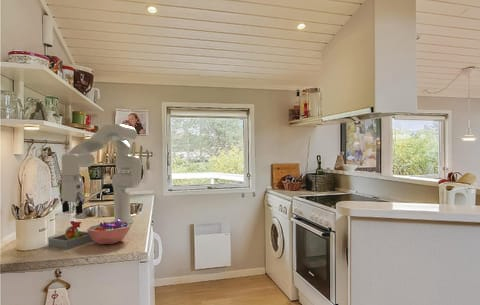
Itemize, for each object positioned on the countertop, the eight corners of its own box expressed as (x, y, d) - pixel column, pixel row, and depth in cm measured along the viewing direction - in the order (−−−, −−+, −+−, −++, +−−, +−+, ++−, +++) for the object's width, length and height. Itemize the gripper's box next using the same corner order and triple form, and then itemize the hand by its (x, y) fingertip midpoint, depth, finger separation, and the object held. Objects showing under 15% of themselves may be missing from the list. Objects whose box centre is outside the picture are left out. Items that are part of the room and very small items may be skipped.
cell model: (90, 240, 151) (89, 218, 151) (131, 235, 158) (131, 214, 158) (85, 250, 135) (85, 226, 135) (132, 245, 142) (131, 221, 142)
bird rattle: (65, 247, 144) (81, 240, 144) (56, 227, 145) (72, 220, 144) (73, 243, 151) (88, 237, 150) (64, 224, 151) (79, 217, 150)
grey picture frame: (76, 237, 156) (76, 230, 156) (94, 240, 151) (94, 233, 151) (48, 245, 143) (48, 238, 143) (66, 249, 137) (66, 241, 137)
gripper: (90, 178, 147) (91, 212, 147) (66, 177, 154) (67, 209, 154) (76, 180, 140) (77, 215, 140) (52, 178, 147) (53, 212, 147)
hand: (72, 212), depth 147 cm, fingers open, 9 cm apart
